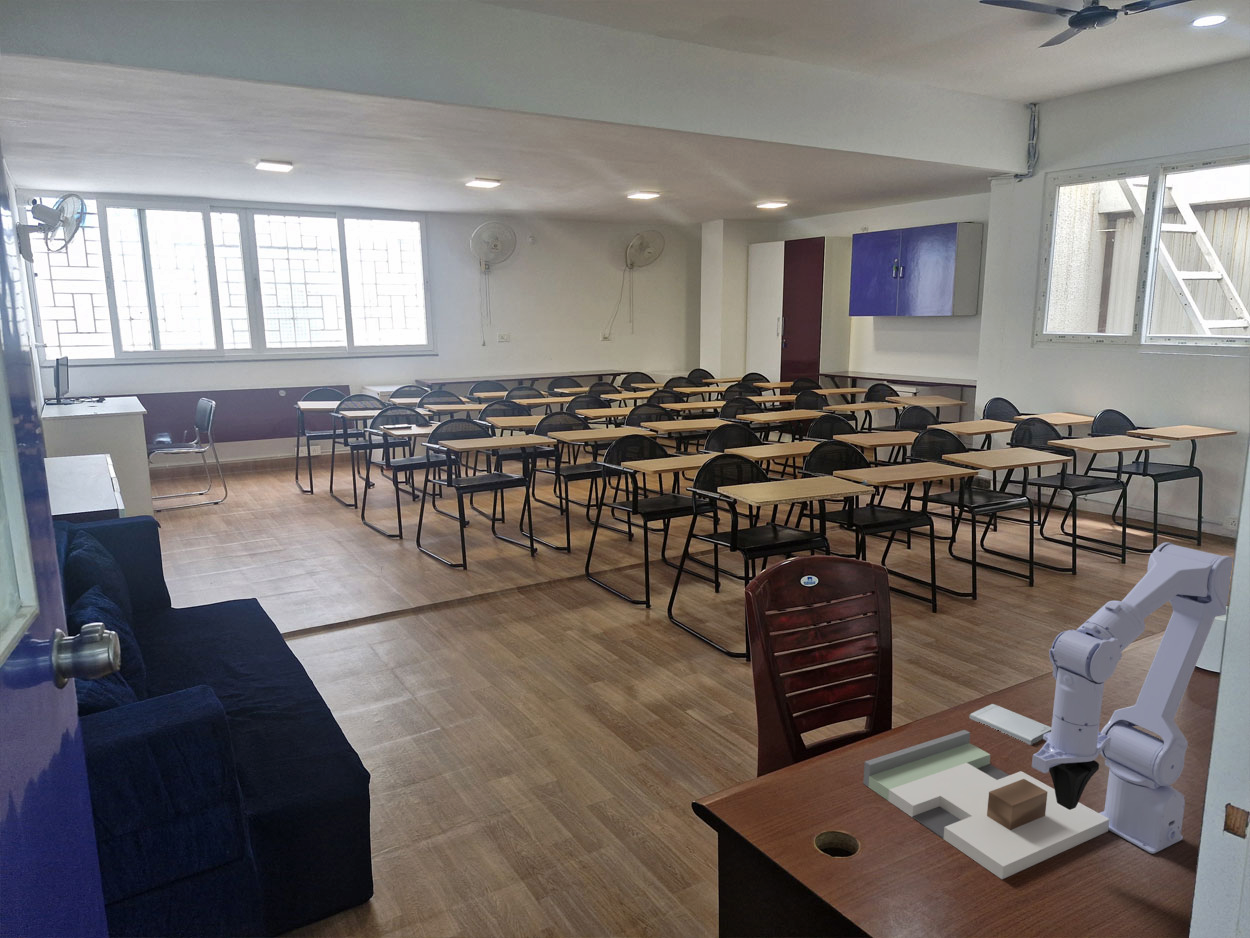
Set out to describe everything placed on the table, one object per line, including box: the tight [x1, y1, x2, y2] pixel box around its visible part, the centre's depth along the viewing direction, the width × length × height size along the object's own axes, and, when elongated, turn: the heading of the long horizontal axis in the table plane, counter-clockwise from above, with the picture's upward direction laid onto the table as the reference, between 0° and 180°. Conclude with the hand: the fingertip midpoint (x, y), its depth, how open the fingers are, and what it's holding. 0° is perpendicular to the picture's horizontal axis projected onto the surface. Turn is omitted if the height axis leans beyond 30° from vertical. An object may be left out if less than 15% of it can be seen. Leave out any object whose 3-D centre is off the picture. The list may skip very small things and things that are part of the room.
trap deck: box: [862, 729, 1110, 880], centre depth 127 cm, size 27×24×4 cm
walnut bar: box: [987, 779, 1047, 830], centre depth 121 cm, size 4×8×4 cm, turn 117°
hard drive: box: [969, 703, 1052, 746], centre depth 154 cm, size 2×8×12 cm
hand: (1066, 805), depth 114 cm, fingers closed
